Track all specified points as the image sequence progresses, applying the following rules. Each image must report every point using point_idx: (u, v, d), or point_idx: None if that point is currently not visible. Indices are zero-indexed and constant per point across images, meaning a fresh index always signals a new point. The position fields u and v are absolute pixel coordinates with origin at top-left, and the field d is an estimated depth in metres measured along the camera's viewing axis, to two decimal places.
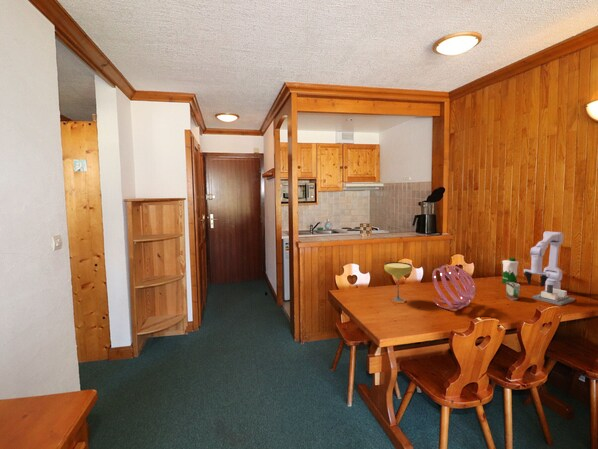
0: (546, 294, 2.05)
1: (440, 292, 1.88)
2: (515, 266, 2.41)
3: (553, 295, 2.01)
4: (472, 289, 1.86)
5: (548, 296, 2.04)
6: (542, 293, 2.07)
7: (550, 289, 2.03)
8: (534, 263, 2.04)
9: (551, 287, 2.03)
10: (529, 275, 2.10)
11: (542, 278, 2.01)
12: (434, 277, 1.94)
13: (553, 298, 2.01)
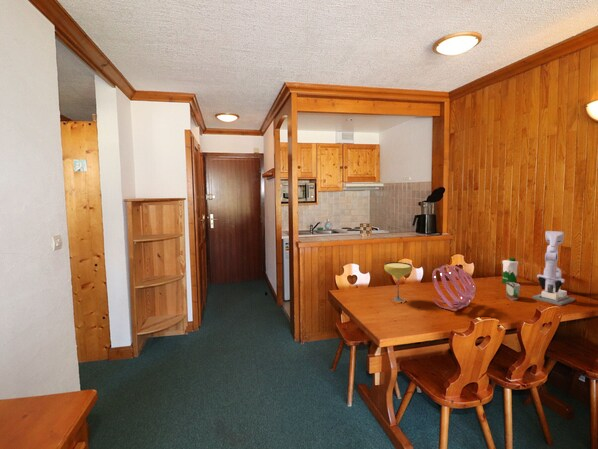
0: (546, 294, 2.05)
1: (440, 292, 1.88)
2: (515, 266, 2.41)
3: (553, 295, 2.01)
4: (472, 289, 1.86)
5: (548, 296, 2.04)
6: (542, 293, 2.07)
7: (550, 289, 2.03)
8: (550, 269, 2.01)
9: (551, 287, 2.03)
10: (543, 280, 2.07)
11: (557, 284, 1.99)
12: (434, 277, 1.94)
13: (553, 298, 2.01)
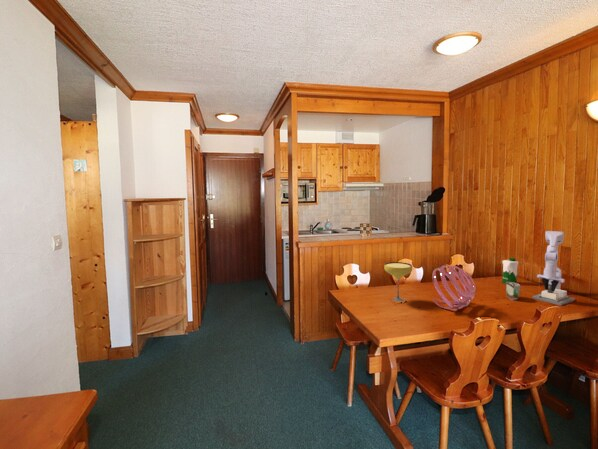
0: (546, 294, 2.05)
1: (440, 292, 1.88)
2: (515, 266, 2.41)
3: (553, 295, 2.01)
4: (472, 289, 1.86)
5: (548, 296, 2.04)
6: (542, 293, 2.07)
7: (550, 289, 2.03)
8: (550, 269, 2.01)
9: (551, 287, 2.03)
10: (546, 281, 2.05)
11: (553, 283, 2.00)
12: (434, 277, 1.94)
13: (553, 298, 2.01)
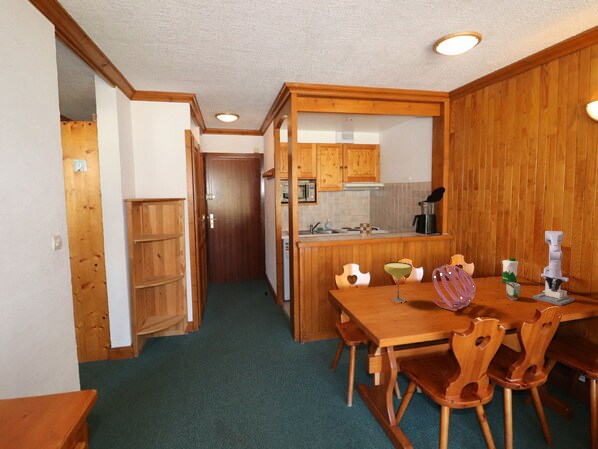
0: (550, 293, 2.07)
1: (440, 292, 1.88)
2: (515, 266, 2.41)
3: (557, 294, 2.04)
4: (472, 289, 1.86)
5: (552, 295, 2.06)
6: (546, 292, 2.09)
7: (554, 288, 2.06)
8: (554, 268, 2.03)
9: (555, 286, 2.05)
10: (550, 280, 2.07)
11: (557, 282, 2.03)
12: (434, 277, 1.94)
13: (557, 297, 2.04)
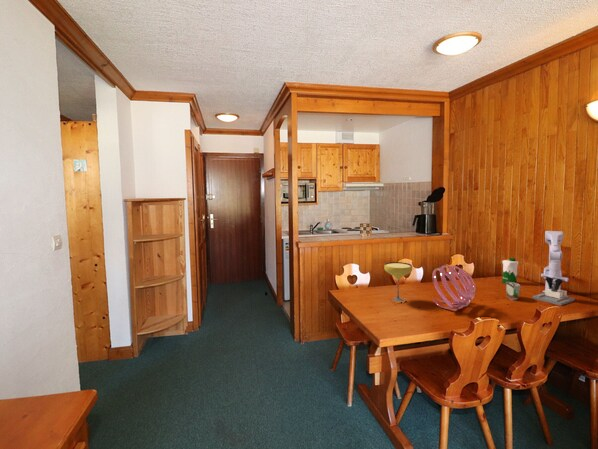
0: (550, 293, 2.07)
1: (440, 292, 1.88)
2: (515, 266, 2.41)
3: (557, 294, 2.04)
4: (472, 289, 1.86)
5: (552, 295, 2.06)
6: (546, 292, 2.09)
7: (554, 288, 2.06)
8: (554, 268, 2.03)
9: (555, 286, 2.05)
10: (550, 280, 2.07)
11: (557, 282, 2.03)
12: (434, 277, 1.94)
13: (557, 297, 2.04)
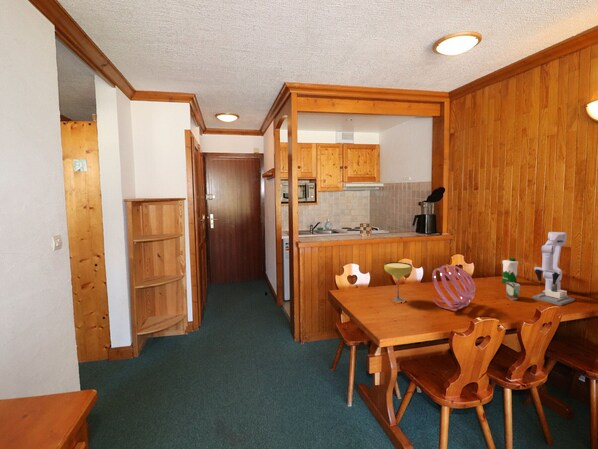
0: (550, 293, 2.07)
1: (440, 292, 1.88)
2: (515, 266, 2.41)
3: (557, 294, 2.04)
4: (472, 289, 1.86)
5: (552, 295, 2.06)
6: (546, 292, 2.09)
7: (554, 288, 2.06)
8: (546, 261, 2.08)
9: (555, 286, 2.05)
10: (539, 273, 2.13)
11: (554, 275, 2.04)
12: (434, 277, 1.94)
13: (557, 297, 2.04)
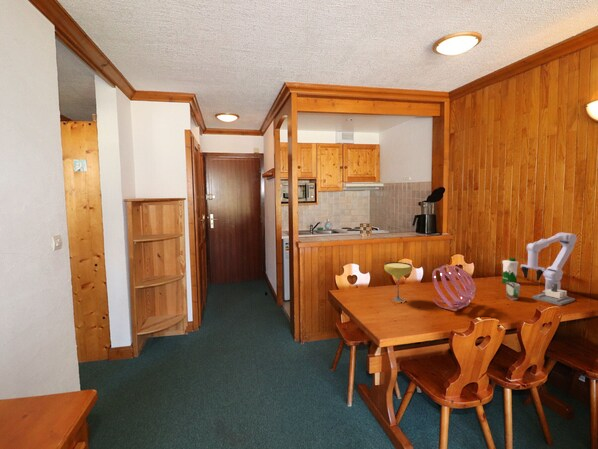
0: (550, 293, 2.07)
1: (440, 292, 1.88)
2: (515, 266, 2.41)
3: (557, 294, 2.04)
4: (472, 289, 1.86)
5: (552, 295, 2.06)
6: (546, 292, 2.09)
7: (554, 288, 2.06)
8: (528, 258, 2.18)
9: (555, 286, 2.05)
10: (526, 270, 2.22)
11: (538, 272, 2.14)
12: (434, 277, 1.94)
13: (557, 297, 2.04)
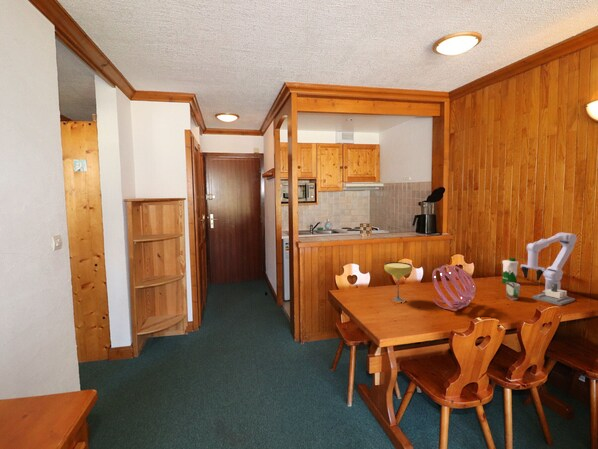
0: (550, 293, 2.07)
1: (440, 292, 1.88)
2: (515, 266, 2.41)
3: (557, 294, 2.04)
4: (472, 289, 1.86)
5: (552, 295, 2.06)
6: (546, 292, 2.09)
7: (554, 288, 2.06)
8: (528, 258, 2.18)
9: (555, 286, 2.05)
10: (526, 270, 2.22)
11: (538, 272, 2.14)
12: (434, 277, 1.94)
13: (557, 297, 2.04)
